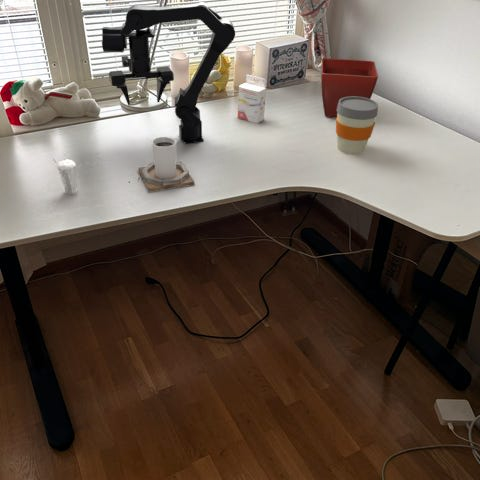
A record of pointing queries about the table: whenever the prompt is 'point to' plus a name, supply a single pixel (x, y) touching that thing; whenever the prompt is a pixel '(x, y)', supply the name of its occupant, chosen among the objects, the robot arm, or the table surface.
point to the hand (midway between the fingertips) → (143, 103)
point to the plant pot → (346, 81)
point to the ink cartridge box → (252, 99)
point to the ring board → (161, 184)
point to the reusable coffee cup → (355, 123)
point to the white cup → (164, 157)
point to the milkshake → (68, 176)
